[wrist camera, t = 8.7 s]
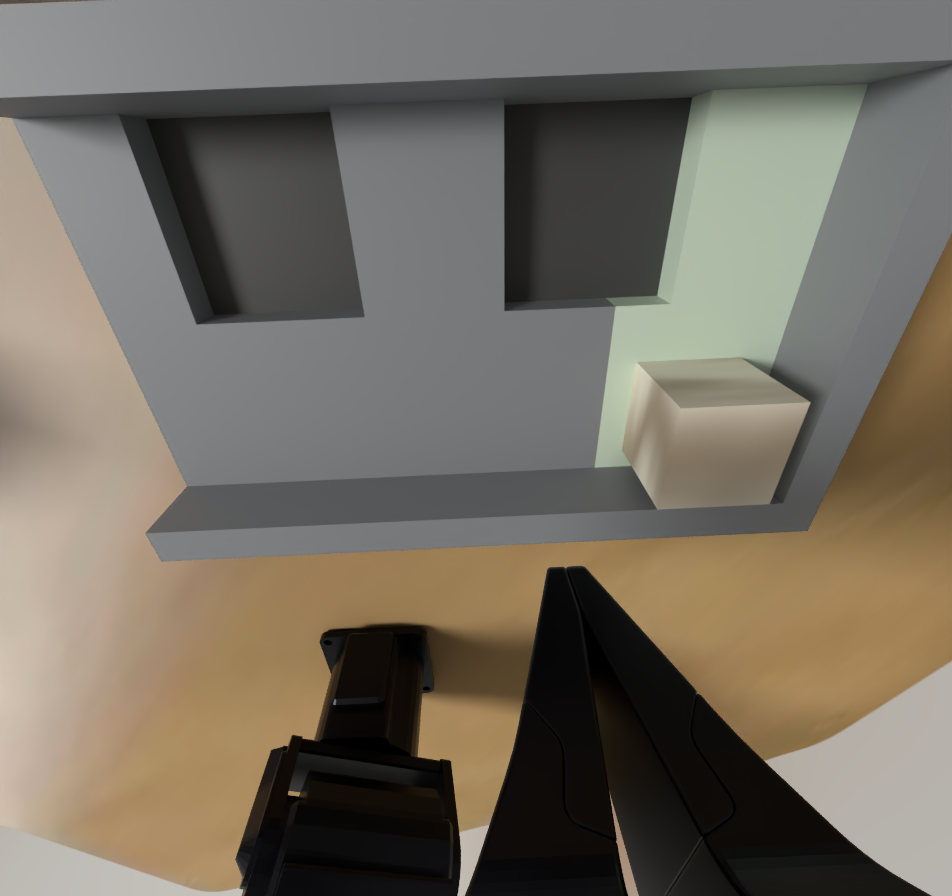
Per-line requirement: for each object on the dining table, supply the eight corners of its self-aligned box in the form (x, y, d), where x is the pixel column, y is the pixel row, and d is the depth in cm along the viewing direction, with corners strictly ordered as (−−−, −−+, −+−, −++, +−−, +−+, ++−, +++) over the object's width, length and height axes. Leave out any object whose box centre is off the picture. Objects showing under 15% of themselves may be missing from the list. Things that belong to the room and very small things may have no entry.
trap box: (745, 468, 21) (807, 530, 18) (215, 492, 21) (161, 561, 17) (899, 26, 13) (1082, -38, 9) (26, 61, 13) (-158, 10, 9)
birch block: (713, 445, 19) (769, 504, 15) (621, 450, 19) (657, 509, 15) (739, 357, 17) (810, 402, 13) (636, 362, 17) (681, 408, 13)
